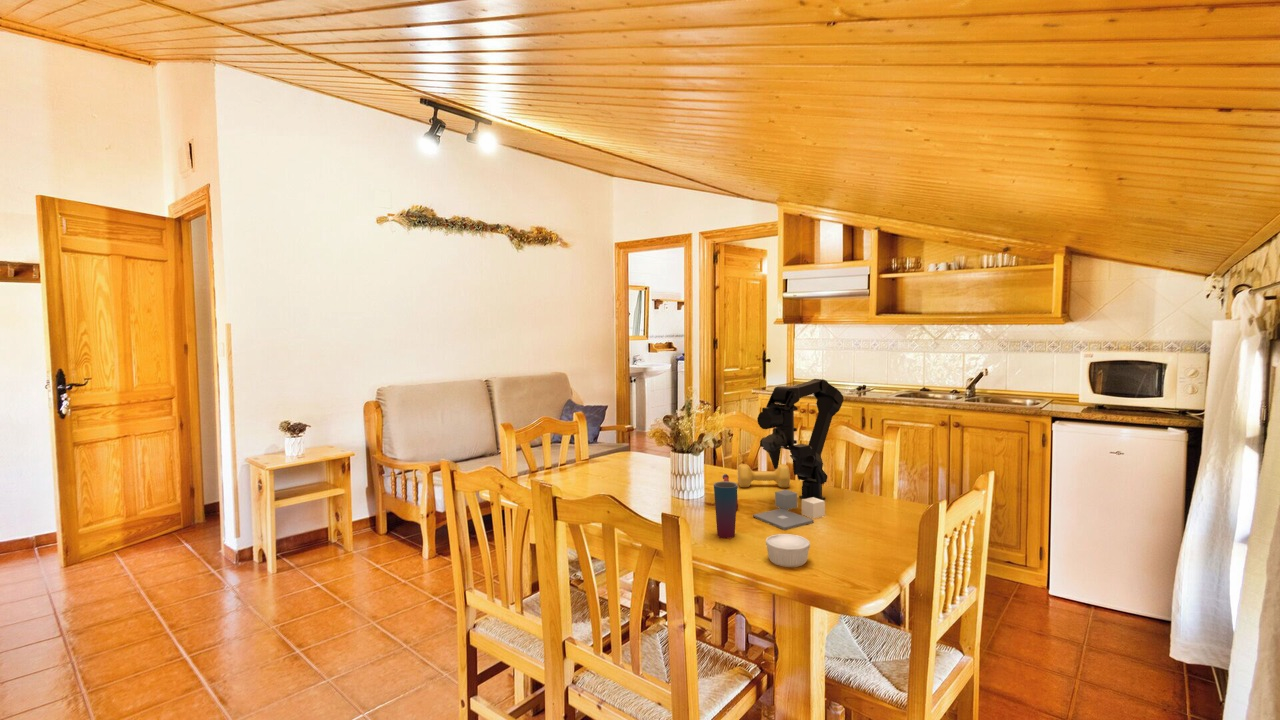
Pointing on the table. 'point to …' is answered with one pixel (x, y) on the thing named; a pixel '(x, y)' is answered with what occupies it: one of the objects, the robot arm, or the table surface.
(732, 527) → the cup
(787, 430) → the robot arm
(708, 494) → the table surface
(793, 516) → the baseplate
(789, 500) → the slate block
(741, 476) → the dumbbell
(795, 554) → the ramekin
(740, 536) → the table surface
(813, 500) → the cream block
